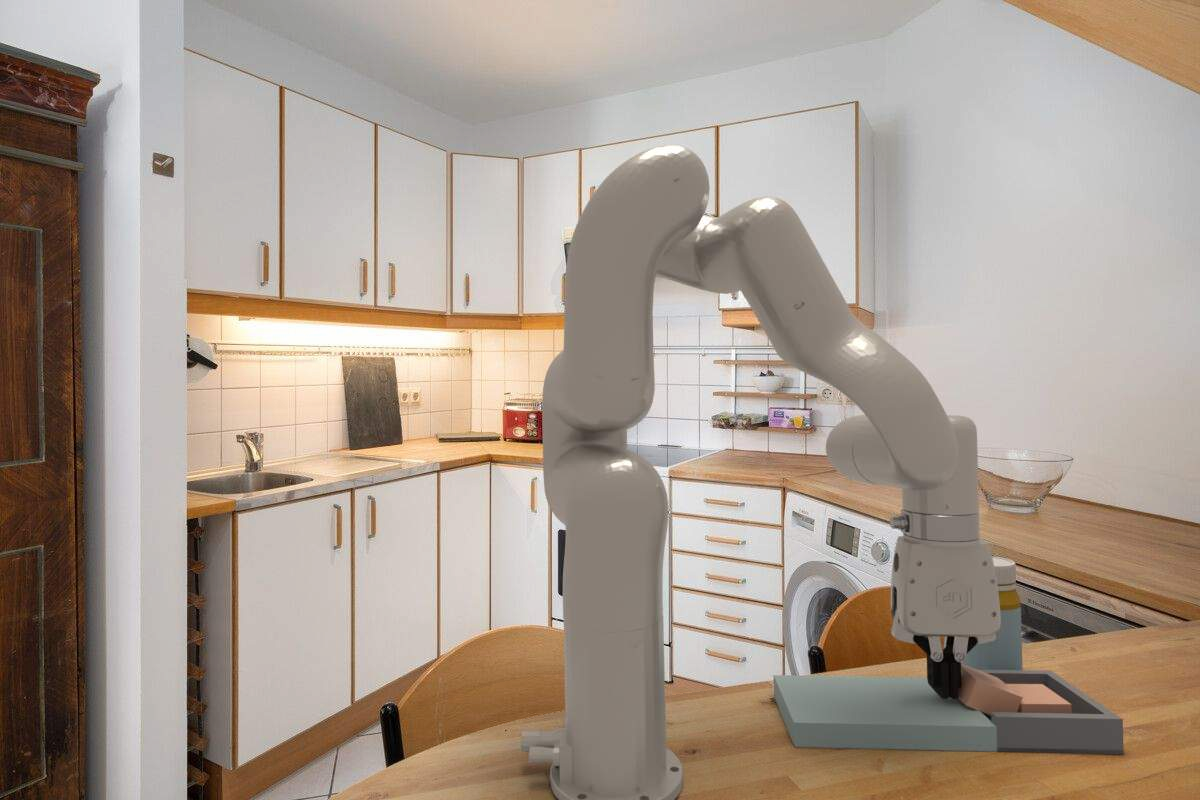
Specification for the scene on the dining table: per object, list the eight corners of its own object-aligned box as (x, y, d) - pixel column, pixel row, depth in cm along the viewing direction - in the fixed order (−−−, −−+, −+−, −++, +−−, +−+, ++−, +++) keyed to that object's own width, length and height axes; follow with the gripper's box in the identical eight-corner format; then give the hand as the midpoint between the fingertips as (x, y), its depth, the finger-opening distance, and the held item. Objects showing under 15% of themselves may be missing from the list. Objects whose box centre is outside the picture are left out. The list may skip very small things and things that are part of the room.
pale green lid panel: (794, 746, 68) (793, 722, 68) (773, 695, 80) (773, 675, 80) (997, 751, 66) (996, 726, 66) (945, 698, 78) (944, 677, 78)
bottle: (1004, 668, 87) (1002, 554, 87) (1034, 691, 80) (1031, 567, 80) (949, 667, 88) (946, 554, 88) (973, 690, 81) (970, 567, 81)
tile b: (1022, 732, 69) (1021, 703, 69) (997, 710, 74) (996, 683, 74) (1072, 733, 69) (1071, 704, 69) (1043, 710, 74) (1042, 684, 74)
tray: (997, 751, 66) (996, 716, 66) (945, 698, 78) (944, 669, 78) (1123, 754, 65) (1122, 719, 65) (1051, 700, 77) (1050, 670, 77)
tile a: (966, 705, 70) (976, 679, 70) (945, 685, 75) (954, 661, 75) (1012, 723, 70) (1022, 697, 70) (987, 702, 75) (997, 677, 75)
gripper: (882, 533, 70) (886, 708, 70) (1030, 533, 68) (1035, 710, 68) (860, 521, 77) (863, 678, 77) (993, 520, 76) (997, 680, 76)
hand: (944, 693), depth 73 cm, fingers closed
